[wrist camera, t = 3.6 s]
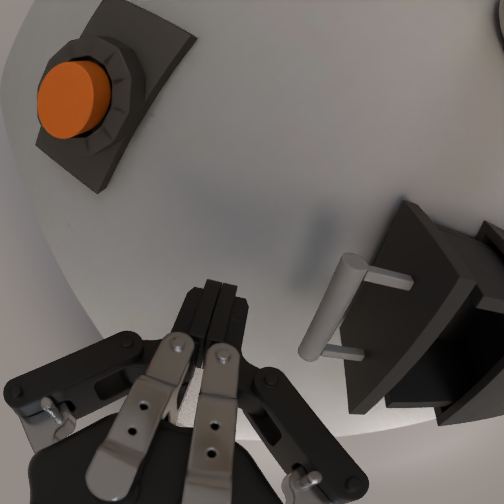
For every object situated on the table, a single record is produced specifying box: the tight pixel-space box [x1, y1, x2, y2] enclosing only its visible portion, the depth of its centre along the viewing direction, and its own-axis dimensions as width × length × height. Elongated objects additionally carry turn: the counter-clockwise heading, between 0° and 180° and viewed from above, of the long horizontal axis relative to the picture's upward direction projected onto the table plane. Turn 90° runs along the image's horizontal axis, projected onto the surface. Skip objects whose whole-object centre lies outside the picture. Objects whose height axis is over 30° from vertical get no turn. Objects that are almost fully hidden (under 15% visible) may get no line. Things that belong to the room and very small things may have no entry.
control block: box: [35, 0, 197, 194], centre depth 14 cm, size 12×7×3 cm, turn 142°
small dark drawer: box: [298, 200, 504, 415], centre depth 16 cm, size 18×11×8 cm, turn 79°
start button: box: [37, 61, 111, 139], centre depth 12 cm, size 4×4×2 cm
